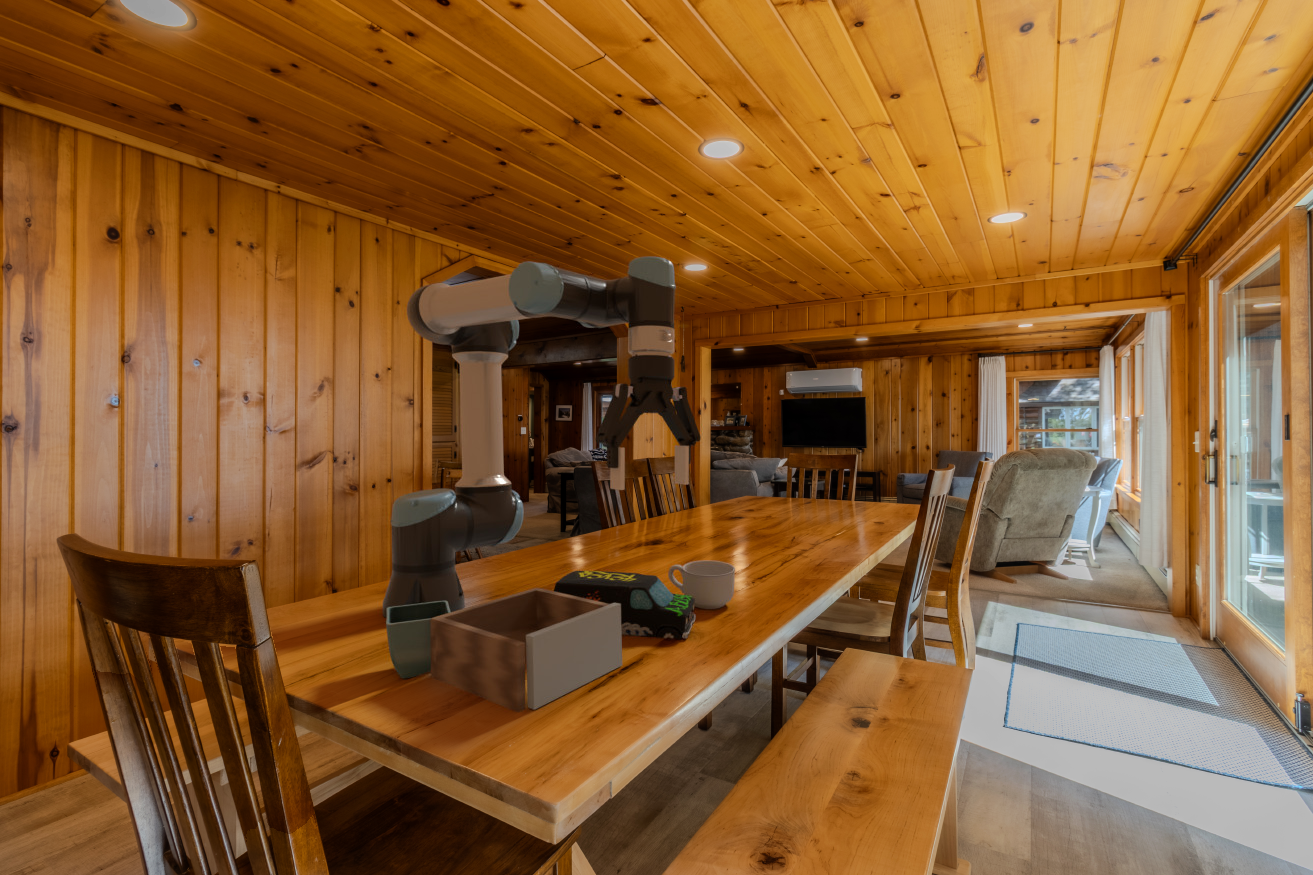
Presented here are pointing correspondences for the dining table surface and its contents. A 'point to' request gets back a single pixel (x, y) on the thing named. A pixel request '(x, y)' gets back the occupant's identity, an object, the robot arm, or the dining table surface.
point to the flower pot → (412, 636)
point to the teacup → (706, 582)
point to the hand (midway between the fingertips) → (650, 486)
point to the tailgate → (572, 654)
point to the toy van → (635, 601)
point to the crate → (497, 642)
